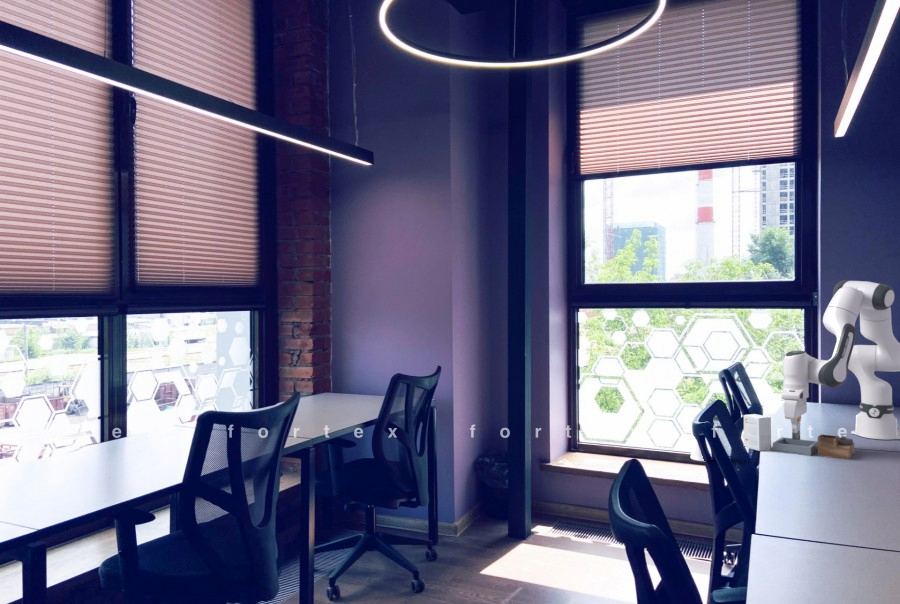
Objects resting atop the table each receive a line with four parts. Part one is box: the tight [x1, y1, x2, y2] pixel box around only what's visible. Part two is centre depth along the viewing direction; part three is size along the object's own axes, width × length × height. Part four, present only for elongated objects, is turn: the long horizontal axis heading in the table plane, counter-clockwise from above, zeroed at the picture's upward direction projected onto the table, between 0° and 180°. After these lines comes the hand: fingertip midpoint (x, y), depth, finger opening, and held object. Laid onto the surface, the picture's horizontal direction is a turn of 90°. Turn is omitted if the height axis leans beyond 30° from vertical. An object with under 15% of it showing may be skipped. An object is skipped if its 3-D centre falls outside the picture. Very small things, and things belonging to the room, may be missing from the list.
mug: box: [690, 428, 705, 462], centre depth 243 cm, size 12×8×12 cm
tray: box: [772, 436, 818, 457], centre depth 255 cm, size 13×13×3 cm
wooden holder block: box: [817, 433, 855, 460], centre depth 248 cm, size 12×10×7 cm
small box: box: [743, 413, 772, 452], centre depth 259 cm, size 8×6×13 cm
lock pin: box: [791, 416, 801, 440], centre depth 255 cm, size 3×3×9 cm
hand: (796, 427), depth 255 cm, fingers closed on lock pin, 3 cm apart
